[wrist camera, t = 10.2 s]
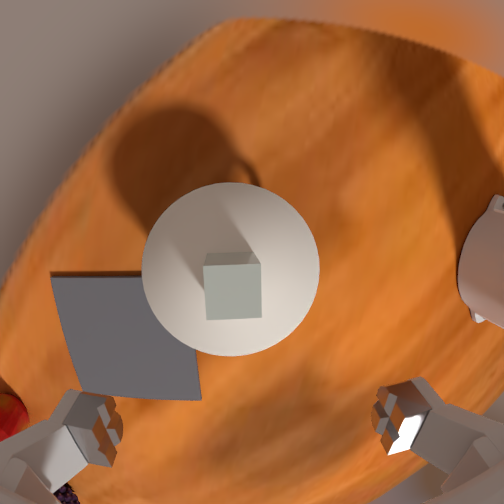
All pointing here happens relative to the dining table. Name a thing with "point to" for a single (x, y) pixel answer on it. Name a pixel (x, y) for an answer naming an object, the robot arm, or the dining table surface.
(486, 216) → the robot arm
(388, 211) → the dining table surface
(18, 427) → the apple
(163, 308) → the lid
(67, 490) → the fruit
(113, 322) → the mat
